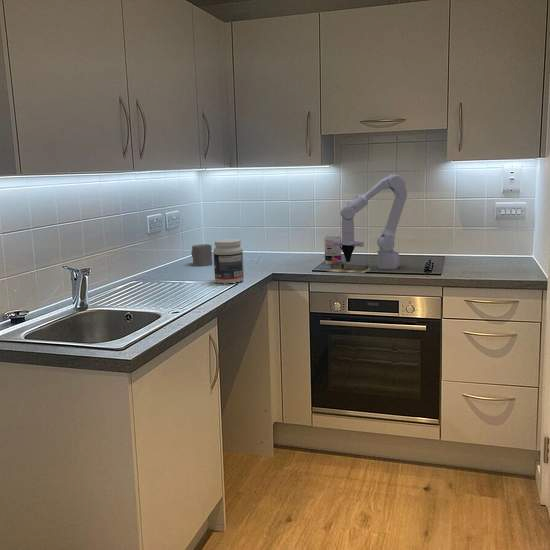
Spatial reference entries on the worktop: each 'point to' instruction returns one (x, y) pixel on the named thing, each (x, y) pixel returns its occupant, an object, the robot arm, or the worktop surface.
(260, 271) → the worktop surface
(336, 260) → the tab
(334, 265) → the tongs body
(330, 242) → the supplement can
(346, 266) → the bar
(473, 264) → the worktop surface
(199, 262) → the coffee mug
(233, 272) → the supplement tub
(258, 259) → the worktop surface
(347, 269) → the board
